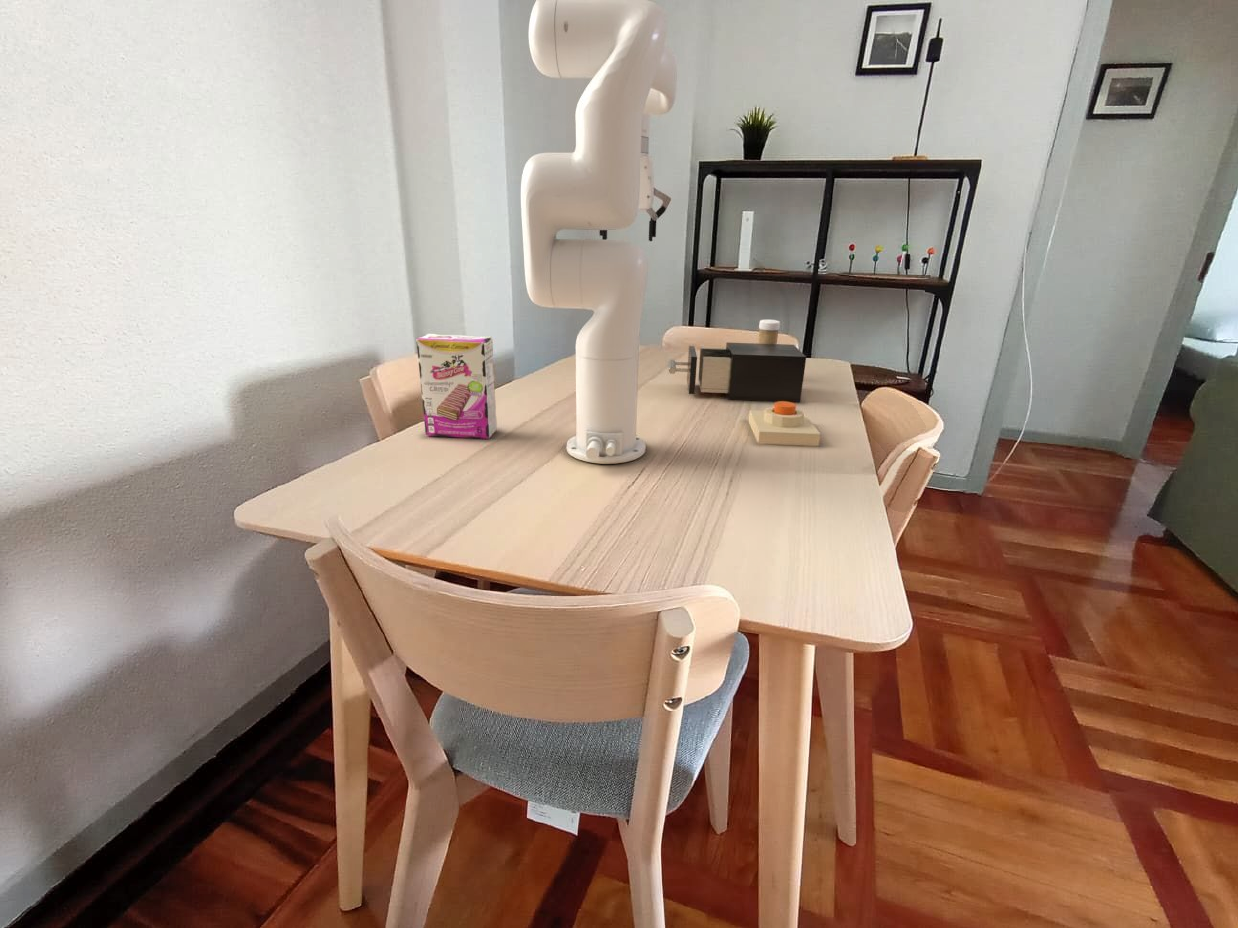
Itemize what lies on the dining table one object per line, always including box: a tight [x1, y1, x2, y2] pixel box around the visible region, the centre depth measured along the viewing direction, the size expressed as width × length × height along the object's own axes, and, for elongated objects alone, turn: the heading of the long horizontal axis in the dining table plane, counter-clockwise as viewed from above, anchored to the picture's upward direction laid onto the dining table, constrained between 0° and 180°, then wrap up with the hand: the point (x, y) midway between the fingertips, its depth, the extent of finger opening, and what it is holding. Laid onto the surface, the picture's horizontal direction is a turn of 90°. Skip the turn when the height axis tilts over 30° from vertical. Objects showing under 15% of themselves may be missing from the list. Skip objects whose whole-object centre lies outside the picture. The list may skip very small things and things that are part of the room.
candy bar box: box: [415, 333, 498, 440], centre depth 100 cm, size 11×5×16 cm, turn 85°
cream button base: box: [748, 406, 821, 447], centre depth 106 cm, size 12×10×4 cm
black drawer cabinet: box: [725, 342, 807, 404], centre depth 129 cm, size 15×13×10 cm
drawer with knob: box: [667, 345, 732, 395], centre depth 130 cm, size 18×11×8 cm, turn 86°
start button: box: [773, 401, 797, 415], centre depth 105 cm, size 4×4×2 cm
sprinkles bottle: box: [757, 319, 781, 344], centre depth 141 cm, size 5×5×14 cm
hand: (627, 240), depth 128 cm, fingers open, 9 cm apart
